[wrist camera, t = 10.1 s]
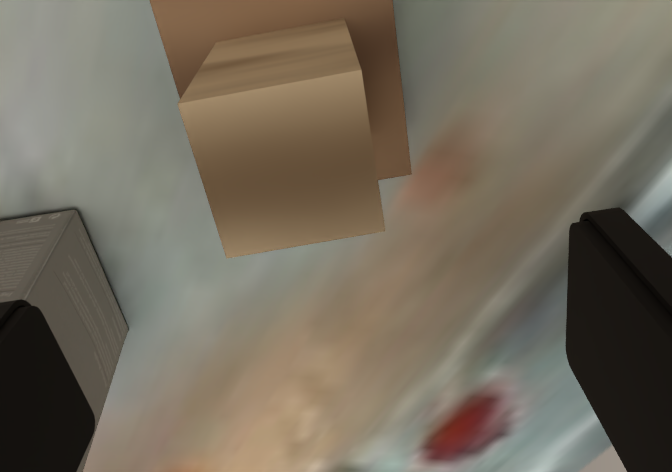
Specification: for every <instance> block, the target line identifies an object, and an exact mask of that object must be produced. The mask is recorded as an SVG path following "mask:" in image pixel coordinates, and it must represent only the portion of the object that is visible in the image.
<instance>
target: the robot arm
mask: <svg viewBox="0 0 672 472" xmlns="http://www.w3.org/2000/svg"><path fill="white" fill-rule="evenodd" d="M566 354H567V358H568V362H569V365H570V367H571V369H572V371H573V373H574V375H575V377H576V379H577V380H578V382H579V384H580V386H581V388H582V390H583V391H584V393H585V395H586V397H587V399H588V401H589V402H590V404H591V406H592V408H593V410H594V412H595V413H596V415H597V417H598V419H599V421H600V423H601V424H602V426H603V428H604V430H605V432H606V434H607V435H608V437H609V439H610V441H611V443H612V445H613V446H614V448H615V450H616V452H617V454H618V456H619V457H620V459H621V461H622V463H623V465H624V467H625V468H626V470H627V472H672V257H671V256H670V255H669V254H668V253H667V252H665V251H664V250H663V249H662V248H661V247H660V246H659V245H658V244H657V243H656V242H655V241H654V240H653V239H652V238H651V237H650V236H649V235H648V234H647V233H646V232H645V231H644V230H643V229H642V228H641V227H640V226H639V225H638V224H637V223H636V222H635V221H634V220H633V219H632V218H631V217H630V216H629V215H628V214H627V213H626V212H625V211H624V210H622V209H621V208H611V209H605V210H598V211H592V212H585V213H583V214H582V215H581V217H580V221H579V222H576V223H572V224H571V226H570V231H569V259H568V290H567V322H566ZM94 430H95V416H94V413H93V411H92V409H91V407H90V405H89V403H88V401H87V399H86V397H85V395H84V393H83V391H82V389H81V387H80V385H79V383H78V381H77V379H76V377H75V376H74V374H73V372H72V370H71V368H70V366H69V364H68V362H67V360H66V358H65V356H64V354H63V352H62V350H61V348H60V346H59V344H58V342H57V340H56V338H55V336H54V335H53V333H52V331H51V329H50V327H49V325H48V323H47V321H46V319H45V317H44V315H43V313H42V312H41V310H40V309H39V308H38V307H37V306H31V304H30V303H29V302H27V301H26V300H22V299H20V300H13V301H7V302H0V472H77V470H78V467H79V465H80V463H81V461H82V458H83V456H84V454H85V452H86V449H87V447H88V445H89V443H90V441H91V438H92V436H93V434H94Z"/></svg>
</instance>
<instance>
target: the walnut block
mask: <svg viewBox="0 0 672 472" xmlns="http://www.w3.org/2000/svg"><path fill="white" fill-rule="evenodd" d="M150 3H151V6H152V10H153V13H154V16H155V19H156V23H157V26H158V29H159V32H160V36H161V39H162V42H163V45H164V48H165V52H166V55H167V58H168V61H169V65H170V68H171V71H172V74H173V77H174V81H175V84H176V87H177V90H178V94H179V97H180V99H181V97H182V96H183V94H184V93H185V91H186V89H187V88H188V86H189V85H190V83H191V82H192V80H193V78H194V77H195V75H196V74H197V72H198V70H199V69H200V67H201V66H202V64H203V62H204V61H205V59H206V58H207V56H208V55H209V53H210V51H211V50H212V48H213V47H214V45H215V43H216V42H221V41H226V40H231V39H237V38H242V37H247V36H252V35H258V34H263V33H268V32H273V31H279V30H284V29H289V28H295V27H300V26H305V25H310V24H316V23H321V22H326V21H332V20H337V19H342V18H344V19H345V22H346V25H347V28H348V31H349V34H350V37H351V40H352V43H353V46H354V49H355V52H356V55H357V58H358V61H359V64H360V67H361V70H362V77H363V84H364V91H365V97H366V104H367V111H368V118H369V124H370V131H371V138H372V145H373V151H374V158H375V165H376V172H377V178H378V180H381V179H387V178H393V177H399V176H404V175H410V174H412V173H411V164H410V155H409V146H408V137H407V128H406V119H405V110H404V101H403V92H402V83H401V74H400V65H399V56H398V47H397V37H396V28H395V19H394V10H393V1H392V0H150Z"/></svg>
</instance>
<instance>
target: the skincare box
mask: <svg viewBox="0 0 672 472" xmlns="http://www.w3.org/2000/svg"><path fill="white" fill-rule="evenodd" d="M20 299H22V300H26V301H27V302H29V303H30V304H31V306H37V307H38V308H39V309H40V310H41V312H42V313H43V315H44V317H45V319H46V321H47V323H48V325H49V327H50V329H51V331H52V333H53V335H54V336H55V338H56V340H57V342H58V344H59V346H60V348H61V350H62V352H63V354H64V356H65V358H66V360H67V362H68V364H69V366H70V368H71V370H72V372H73V374H74V376H75V377H76V379H77V381H78V383H79V385H80V387H81V389H82V391H83V393H84V395H85V397H86V399H87V401H88V403H89V405H90V407H91V409H92V411H93V413H94V416H95V430H94V434H93V436H92V438H91V441H90V443H89V445H88V447H87V449H86V452H85V454H84V456H83V458H82V461H81V463H80V465H79V467H78V470H77V472H83V469H84V466H85V463H86V460H87V456H88V453H89V450H90V447H91V444H92V441H93V438H94V435H95V431H96V428H97V425H98V422H99V419H100V416H101V413H102V410H103V407H104V404H105V400H106V397H107V394H108V391H109V388H110V385H111V382H112V379H113V375H114V372H115V369H116V366H117V363H118V360H119V356H120V353H121V350H122V347H123V344H124V341H125V338H126V335H127V333H128V327H127V324H126V322H125V320H124V318H123V315H122V313H121V311H120V309H119V306H118V304H117V302H116V300H115V297H114V295H113V293H112V290H111V288H110V286H109V284H108V281H107V279H106V277H105V274H104V272H103V270H102V267H101V265H100V262H99V260H98V258H97V255H96V253H95V251H94V249H93V246H92V244H91V242H90V239H89V237H88V235H87V233H86V230H85V228H84V226H83V224H82V221H81V219H80V217H79V215H78V212H77V211H76V210H68V211H62V212H56V213H50V214H43V215H37V216H31V217H24V218H18V219H12V220H6V221H0V302H7V301H13V300H20Z"/></svg>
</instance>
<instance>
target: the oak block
mask: <svg viewBox="0 0 672 472" xmlns="http://www.w3.org/2000/svg"><path fill="white" fill-rule="evenodd" d="M178 107H179V110H180V113H181V116H182V119H183V123H184V126H185V129H186V132H187V135H188V138H189V141H190V145H191V148H192V151H193V154H194V157H195V160H196V163H197V167H198V170H199V173H200V176H201V179H202V182H203V185H204V189H205V192H206V195H207V198H208V201H209V204H210V207H211V211H212V214H213V217H214V220H215V223H216V226H217V229H218V233H219V236H220V239H221V242H222V245H223V248H224V251H225V255H226V258H232V257H238V256H243V255H249V254H255V253H261V252H267V251H273V250H278V249H284V248H290V247H296V246H302V245H308V244H313V243H319V242H325V241H331V240H337V239H343V238H348V237H354V236H360V235H366V234H372V233H377V232H383V231H385V226H384V219H383V212H382V205H381V199H380V192H379V185H378V178H377V172H376V165H375V158H374V151H373V145H372V138H371V131H370V124H369V118H368V111H367V104H366V97H365V91H364V84H363V77H362V70H361V67H360V64H359V61H358V58H357V55H356V52H355V49H354V46H353V43H352V40H351V37H350V34H349V31H348V28H347V25H346V22H345V19H344V18H342V19H337V20H332V21H326V22H321V23H316V24H310V25H305V26H300V27H295V28H289V29H284V30H279V31H273V32H268V33H263V34H258V35H252V36H247V37H242V38H237V39H231V40H226V41H221V42H216V43H215V45H214V47H213V48H212V50H211V51H210V53H209V55H208V56H207V58H206V59H205V61H204V62H203V64H202V66H201V67H200V69H199V70H198V72H197V74H196V75H195V77H194V78H193V80H192V82H191V83H190V85H189V86H188V88H187V89H186V91H185V93H184V94H183V96H182V97H181V99H180V101H179V102H178Z"/></svg>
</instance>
